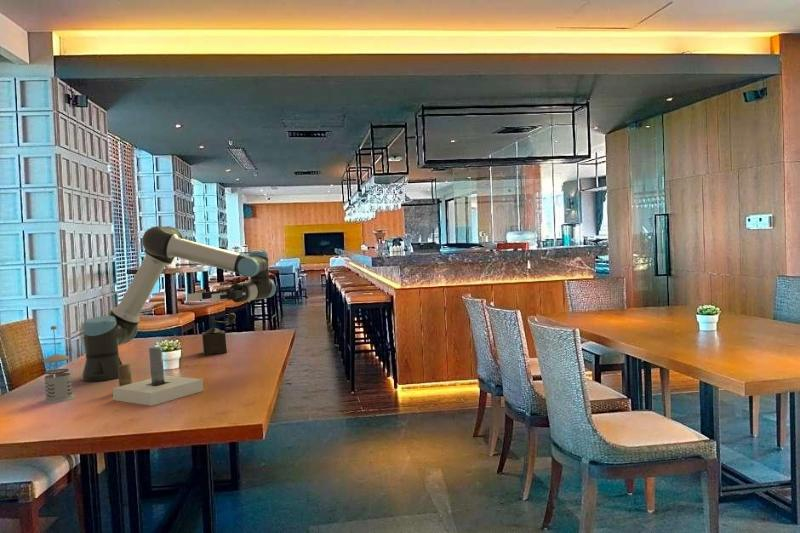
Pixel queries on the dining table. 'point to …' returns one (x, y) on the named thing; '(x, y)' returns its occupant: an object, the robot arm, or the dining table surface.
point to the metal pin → (156, 366)
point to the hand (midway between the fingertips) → (199, 298)
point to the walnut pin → (124, 374)
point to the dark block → (215, 338)
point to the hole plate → (157, 390)
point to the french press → (57, 379)
